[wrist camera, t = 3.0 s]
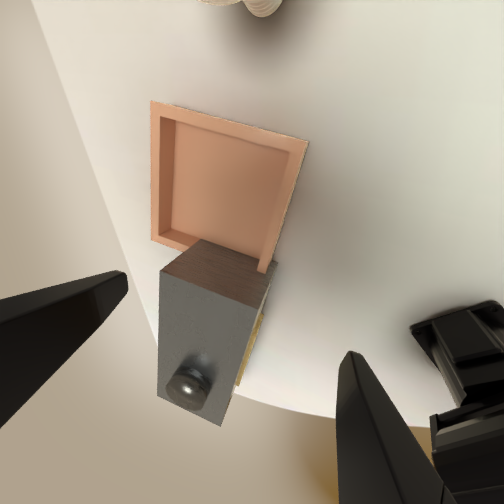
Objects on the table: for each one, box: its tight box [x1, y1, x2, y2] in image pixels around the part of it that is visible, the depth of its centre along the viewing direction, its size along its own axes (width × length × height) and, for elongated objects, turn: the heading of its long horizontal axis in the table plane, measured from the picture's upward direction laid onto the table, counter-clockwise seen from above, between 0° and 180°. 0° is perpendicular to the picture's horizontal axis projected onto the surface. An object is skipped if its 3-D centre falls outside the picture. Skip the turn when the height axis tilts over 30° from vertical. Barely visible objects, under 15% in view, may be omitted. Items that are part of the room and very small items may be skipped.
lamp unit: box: [157, 239, 278, 426], centre depth 23 cm, size 18×8×9 cm, turn 167°
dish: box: [151, 101, 309, 274], centre depth 19 cm, size 12×12×2 cm
